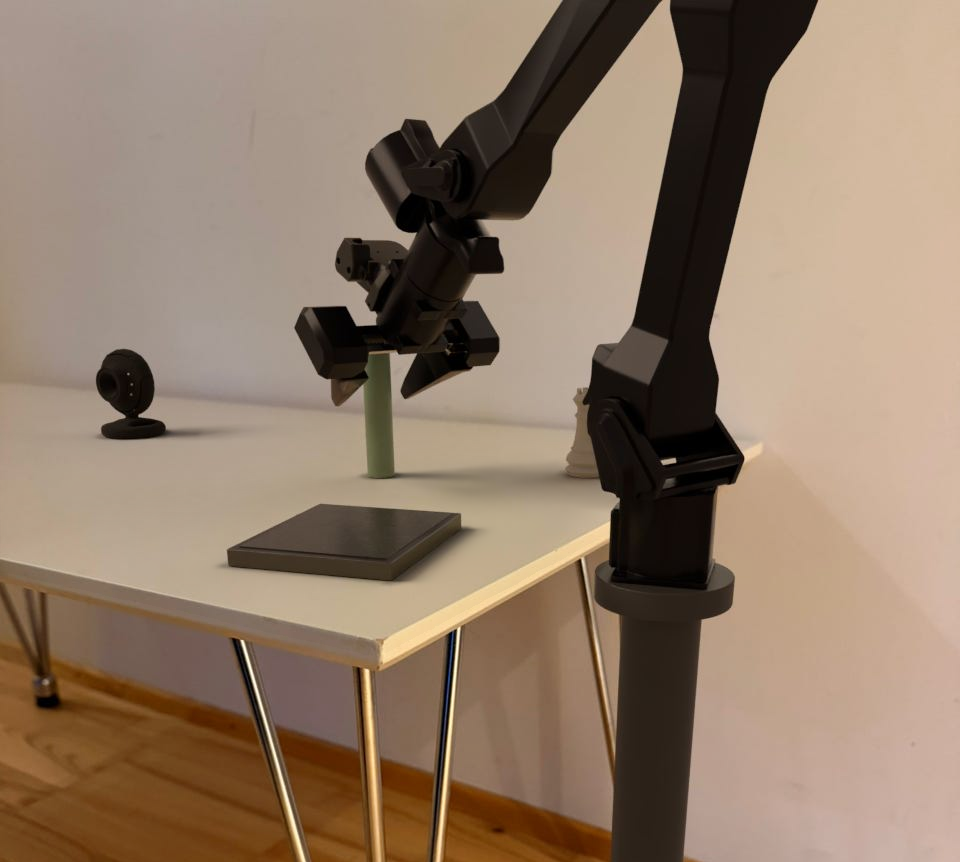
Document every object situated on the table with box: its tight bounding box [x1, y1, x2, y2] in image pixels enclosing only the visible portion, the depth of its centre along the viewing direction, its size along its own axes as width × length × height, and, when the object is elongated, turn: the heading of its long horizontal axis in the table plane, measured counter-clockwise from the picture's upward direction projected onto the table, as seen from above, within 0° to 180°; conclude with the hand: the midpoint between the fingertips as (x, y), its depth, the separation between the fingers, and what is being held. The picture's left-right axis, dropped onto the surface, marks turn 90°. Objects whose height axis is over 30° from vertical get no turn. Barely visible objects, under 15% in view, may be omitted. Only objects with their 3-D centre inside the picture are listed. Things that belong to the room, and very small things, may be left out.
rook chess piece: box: [564, 386, 599, 479], centre depth 93 cm, size 4×4×8 cm
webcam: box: [95, 348, 167, 440], centre depth 118 cm, size 8×8×10 cm
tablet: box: [226, 503, 462, 581], centre depth 71 cm, size 12×14×1 cm
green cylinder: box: [362, 353, 396, 479], centre depth 92 cm, size 3×3×13 cm
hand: (370, 398), depth 93 cm, fingers open, 7 cm apart
